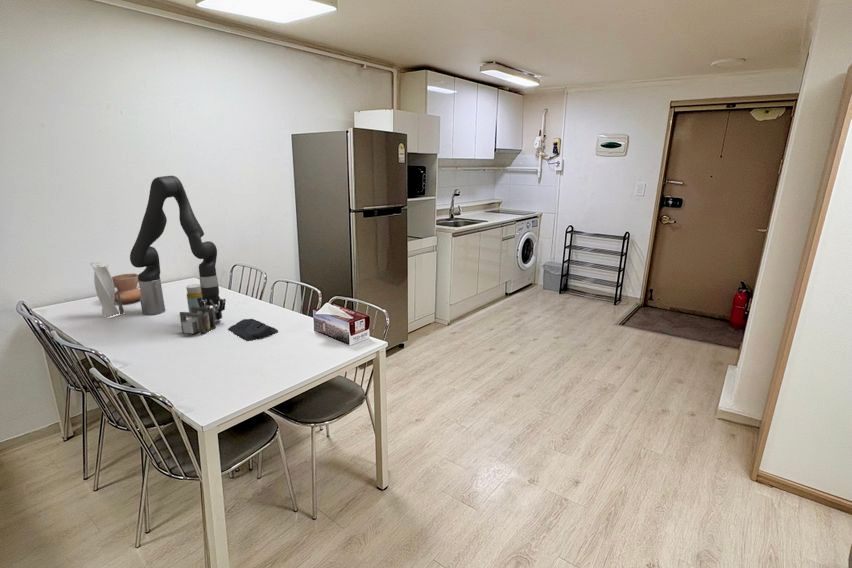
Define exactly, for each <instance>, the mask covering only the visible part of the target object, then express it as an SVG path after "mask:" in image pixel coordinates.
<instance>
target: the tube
mask: <svg viewBox="0 0 852 568" xmlns="http://www.w3.org/2000/svg"><path fill="white" fill-rule="evenodd" d="M211 308H212V309H214V308H213V306H211ZM222 312H223V311H221V316H222V317H221V319H223V313H222ZM216 313H217V312H216V311H215V309H214V316H215V323H216V322H218V321H219V320H221V319H219V320H217V317H216ZM200 314H203V317H204V324H205V323H210V321H209V313H208V312H202V313H200ZM182 325H183V332H184V333H183V332H182V333H183V334H195V333H197V332H200V330H199V323H198V317H190V318H189V317H188V318H186V320H185V321H183V322H182Z"/></svg>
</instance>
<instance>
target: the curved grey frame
mask: <svg viewBox="0 0 852 568" xmlns="http://www.w3.org/2000/svg"><path fill="white" fill-rule="evenodd" d="M197 311H201V312H208V313H209V321H210V323H205V324H204V317H203V314H200V313H197ZM179 317H180V325H181V331H182V333H183V325H182V322H183V321H185V320H187V317H188V318H189V317H190V318H191V317H198V323H199V335H202V334H204V335H206V334H208V333H210V332H212V331H213V330H216V329H217V325H216V322H215V316H214V309H212V307H210V308H201V307H191V313H190V312H189V311H187V312H186V311H180V312H179ZM211 330H212V331H211ZM209 331H210V332H209ZM207 332H208V333H207Z"/></svg>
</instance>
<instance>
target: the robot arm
mask: <svg viewBox="0 0 852 568" xmlns="http://www.w3.org/2000/svg"><path fill="white" fill-rule="evenodd" d="M167 198H174V199H175V201H176V203H177V205H178V209H179V211H178V212H179V223H180V226H181V228H182V230H183V232H184V234H185V235H186V237H187V239H188V243H189V246H190V251H191V253H192V254H193V256H194V257H195V258H197V259H199V260H202V262H200V263H199V264H198V273H199V274H198V275H199V285H200V287H201V294H202V297H199V298H197V301H198V304H199V307H201V308H211V307H213V308H214V309H215V311H216V312H217V313H216V317H217V320H218V321H219V319H220V320H221V319H222V318H223V315H222V316H221V311H222V312H223V311H225V310H226V299H225V298H220V295H219V294H220V288H219V279H218V276H217V268H216V265H217V264H216V263H217V257H218V249H217V246H216V244H215V243H214V242H213V241H210V240H209V241H204V242H203V239H202V237H203V236H204V235H205V232H204V230H203V228H202V226H201V224H200V223H199V220H198V219H197V217H196V216H195V213H194V211H193V208H192V206H191V204H190V201H189V198H188V195H187V193H186V189H185V187H184V185H183V183H182V182H181V180H180V179H179V177H177V176H175V175H166V176H165V175H164V176H158V177H155V178H154V179H152V180H151V184H150V188H149V193H148V201H147V205H146V209H145V213H144V216H143V218H142V221H141V226H140V229H139V231H138V234H137V237H136V240H135V242H134V244H133V245H132V248H131V250H130V254H129V261H130V264H131V265H132V266H133V267H135V268H139V269H141V268H144V270H143V271H141V272H140V273H138V281H139V282H138V287H139V289H140V292H141V295H140V300H139V302H140V307H141V310H142V311H141V312H142V314H144V315H147V316H152V315H154V314H155V315H159V314H162V312H163V313H164V312H166V306H165V299H164V294H163V293H164V292H163V288H162V281H161V276H160V275H161V265H160V264H161V263H160V256H159V253H158V250H157V249H156V247H154V246H152V245H153V244H154V243H155V242H156V241H157V240H158V239H159V238H161V236H162V235H163V233H164V232H165V229H166V226H167V221H168V220H167V216H166V213H165V211H164V209H163V207H164V205H165V201H166V199H167ZM202 306H203V307H202ZM221 317H222V318H221Z"/></svg>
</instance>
